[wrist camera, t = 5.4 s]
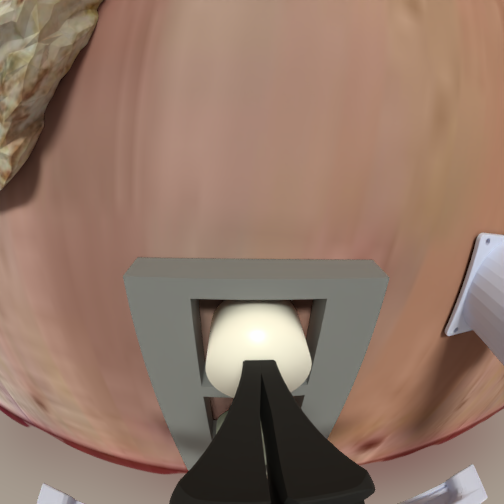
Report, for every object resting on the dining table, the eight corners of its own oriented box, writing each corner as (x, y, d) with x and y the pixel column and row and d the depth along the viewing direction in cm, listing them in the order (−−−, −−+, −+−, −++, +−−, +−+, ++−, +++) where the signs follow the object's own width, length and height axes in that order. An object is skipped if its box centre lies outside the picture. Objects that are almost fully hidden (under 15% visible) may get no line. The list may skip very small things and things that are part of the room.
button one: (304, 289, 14) (321, 334, 10) (293, 356, 16) (303, 403, 12) (208, 289, 13) (200, 335, 10) (213, 357, 15) (209, 404, 12)
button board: (372, 259, 13) (389, 277, 12) (307, 453, 22) (310, 468, 20) (137, 257, 13) (122, 276, 11) (189, 454, 21) (188, 470, 20)
